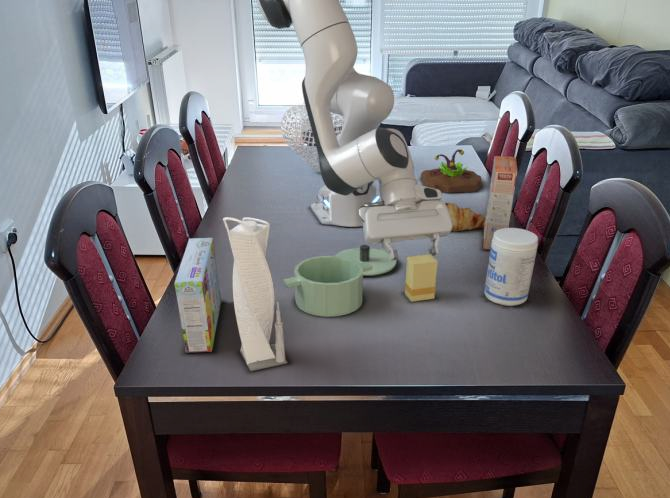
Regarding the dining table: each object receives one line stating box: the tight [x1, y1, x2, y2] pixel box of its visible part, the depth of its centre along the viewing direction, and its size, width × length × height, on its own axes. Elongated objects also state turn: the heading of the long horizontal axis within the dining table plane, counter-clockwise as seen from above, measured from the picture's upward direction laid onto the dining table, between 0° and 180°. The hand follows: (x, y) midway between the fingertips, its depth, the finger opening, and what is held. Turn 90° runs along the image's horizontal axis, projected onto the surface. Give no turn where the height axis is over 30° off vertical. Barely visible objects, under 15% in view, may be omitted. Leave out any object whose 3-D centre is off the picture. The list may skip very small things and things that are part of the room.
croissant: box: [444, 202, 486, 232], centre depth 180 cm, size 21×10×8 cm
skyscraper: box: [222, 216, 288, 372], centre depth 115 cm, size 8×8×28 cm
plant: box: [420, 149, 483, 194], centre depth 212 cm, size 20×20×11 cm
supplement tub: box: [483, 227, 539, 307], centre depth 141 cm, size 10×10×15 cm
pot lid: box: [334, 244, 397, 276], centre depth 158 cm, size 16×16×5 cm
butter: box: [404, 253, 439, 303], centre depth 142 cm, size 4×6×9 cm
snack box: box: [173, 237, 222, 354], centre depth 128 cm, size 21×6×15 cm, turn 5°
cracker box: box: [482, 155, 518, 251], centre depth 167 cm, size 14×6×21 cm, turn 168°
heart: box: [280, 104, 344, 174], centre depth 218 cm, size 28×16×22 cm, turn 89°
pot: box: [283, 255, 372, 318], centre depth 140 cm, size 15×20×8 cm
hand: (414, 257), depth 143 cm, fingers open, 8 cm apart
